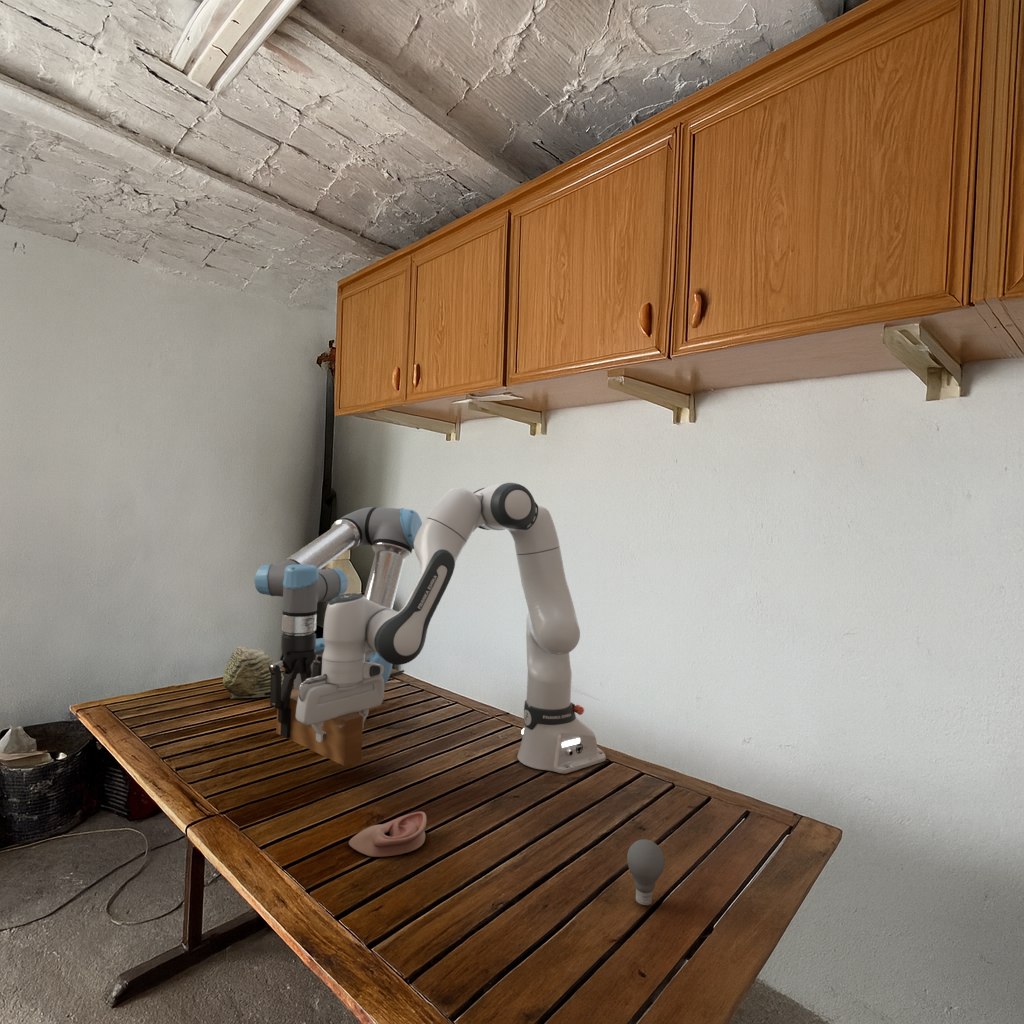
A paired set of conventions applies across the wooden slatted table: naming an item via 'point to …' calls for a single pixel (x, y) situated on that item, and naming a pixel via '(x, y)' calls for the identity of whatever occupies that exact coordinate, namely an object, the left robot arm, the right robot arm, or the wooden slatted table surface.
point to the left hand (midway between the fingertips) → (295, 733)
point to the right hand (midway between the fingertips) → (340, 735)
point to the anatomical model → (392, 836)
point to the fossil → (248, 673)
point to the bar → (328, 735)
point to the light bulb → (645, 868)
